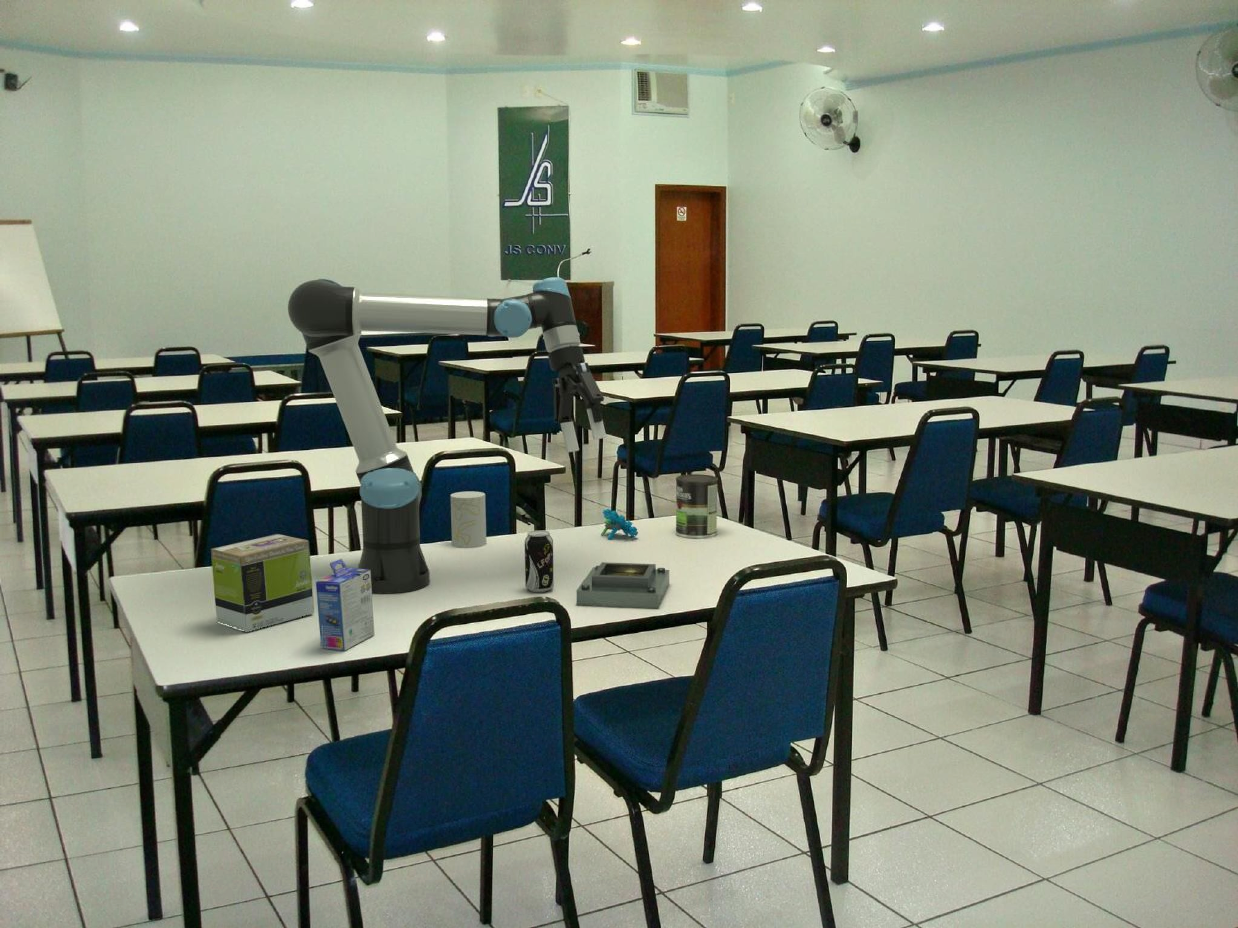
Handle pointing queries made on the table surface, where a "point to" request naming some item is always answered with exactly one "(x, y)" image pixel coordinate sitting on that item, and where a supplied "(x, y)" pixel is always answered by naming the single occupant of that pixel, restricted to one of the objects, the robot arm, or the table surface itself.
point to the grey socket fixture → (624, 586)
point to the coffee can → (696, 506)
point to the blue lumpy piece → (617, 524)
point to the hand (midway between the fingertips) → (586, 445)
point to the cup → (468, 519)
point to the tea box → (262, 581)
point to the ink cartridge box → (345, 607)
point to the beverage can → (539, 561)
